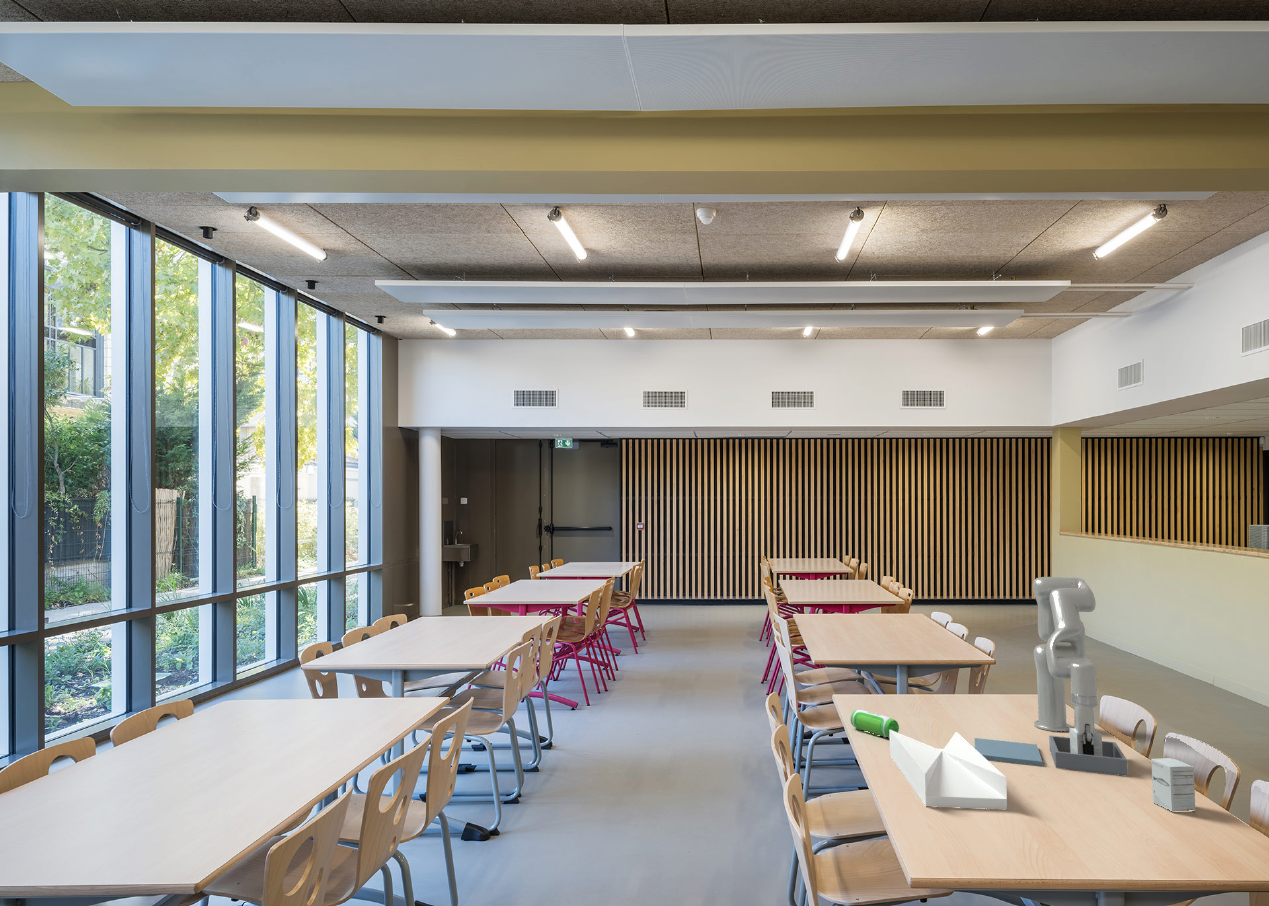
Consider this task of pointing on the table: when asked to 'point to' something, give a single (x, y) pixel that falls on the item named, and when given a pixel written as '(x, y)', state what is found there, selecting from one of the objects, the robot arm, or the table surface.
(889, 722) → the speaker
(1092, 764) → the rectangular frame
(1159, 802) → the supplement box
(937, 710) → the table surface
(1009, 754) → the board
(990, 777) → the building model
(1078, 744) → the small box
